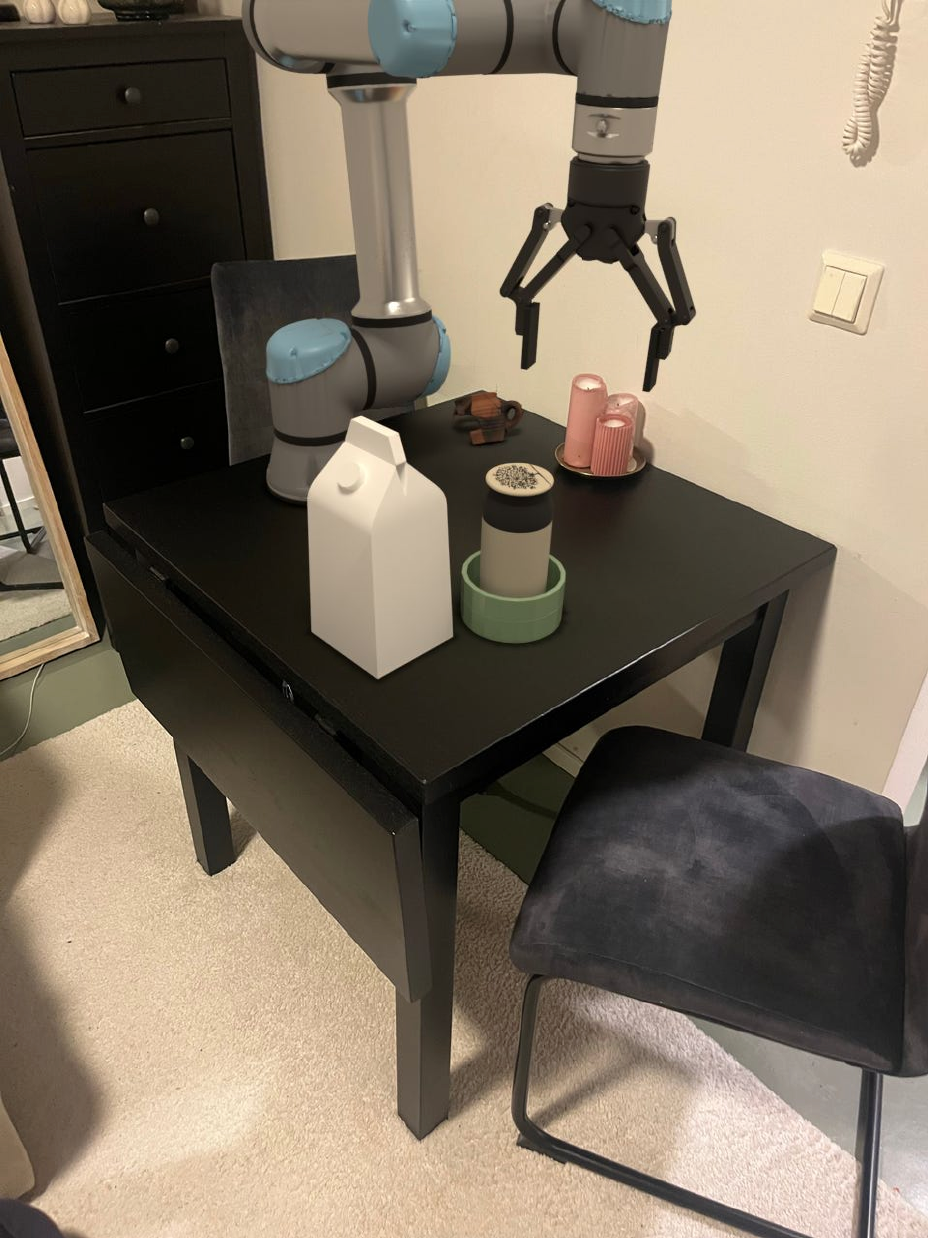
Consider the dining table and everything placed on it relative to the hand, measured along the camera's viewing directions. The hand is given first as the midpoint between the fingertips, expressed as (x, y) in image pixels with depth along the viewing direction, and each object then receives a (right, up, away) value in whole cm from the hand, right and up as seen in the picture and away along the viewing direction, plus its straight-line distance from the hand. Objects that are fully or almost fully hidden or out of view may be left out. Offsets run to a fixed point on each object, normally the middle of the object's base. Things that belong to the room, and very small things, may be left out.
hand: (587, 376), depth 97 cm
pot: (-8, -25, +13) cm, 29 cm away
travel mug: (-8, -25, +13) cm, 29 cm away
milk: (-23, -28, +9) cm, 37 cm away
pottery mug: (-9, +5, +56) cm, 57 cm away
